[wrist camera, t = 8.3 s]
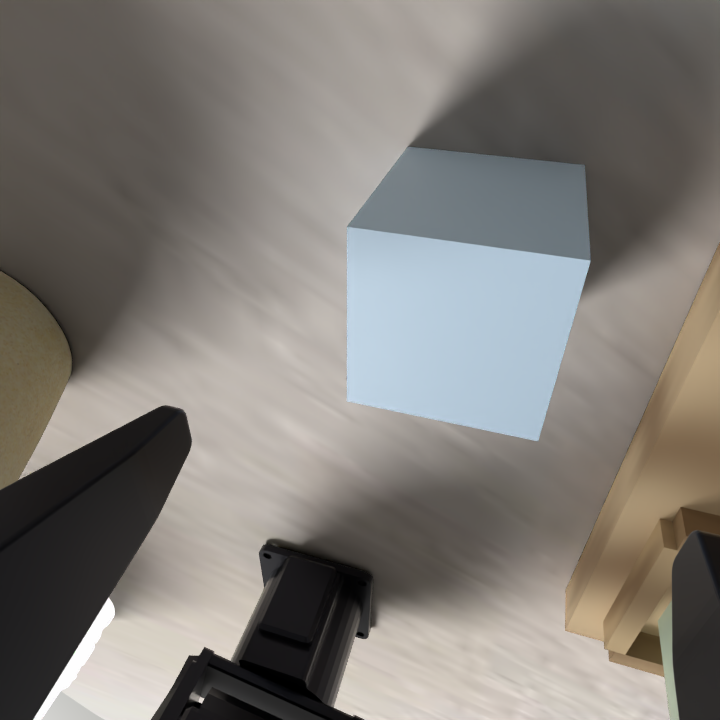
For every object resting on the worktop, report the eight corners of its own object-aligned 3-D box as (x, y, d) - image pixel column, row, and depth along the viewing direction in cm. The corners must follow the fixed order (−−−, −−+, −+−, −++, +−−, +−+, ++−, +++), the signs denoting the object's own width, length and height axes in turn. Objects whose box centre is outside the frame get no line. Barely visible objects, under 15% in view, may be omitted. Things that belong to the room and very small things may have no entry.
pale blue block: (546, 316, 19) (538, 441, 14) (398, 292, 20) (346, 401, 15) (584, 164, 16) (591, 260, 11) (408, 145, 17) (346, 226, 12)
